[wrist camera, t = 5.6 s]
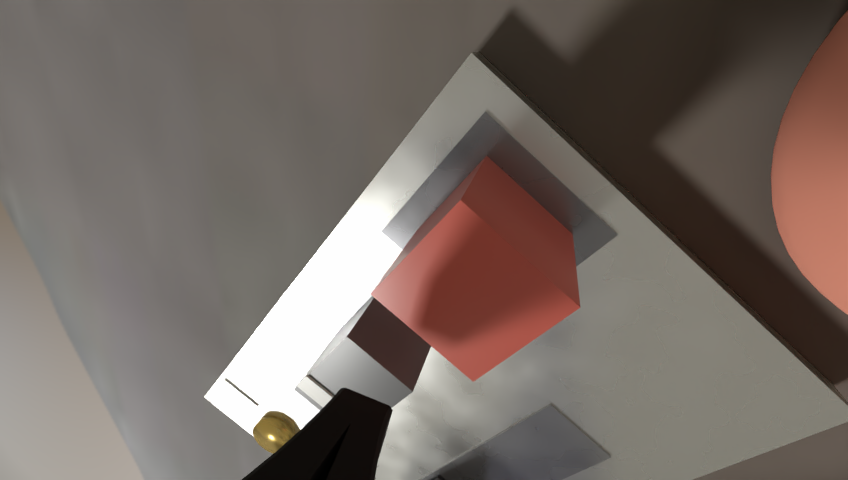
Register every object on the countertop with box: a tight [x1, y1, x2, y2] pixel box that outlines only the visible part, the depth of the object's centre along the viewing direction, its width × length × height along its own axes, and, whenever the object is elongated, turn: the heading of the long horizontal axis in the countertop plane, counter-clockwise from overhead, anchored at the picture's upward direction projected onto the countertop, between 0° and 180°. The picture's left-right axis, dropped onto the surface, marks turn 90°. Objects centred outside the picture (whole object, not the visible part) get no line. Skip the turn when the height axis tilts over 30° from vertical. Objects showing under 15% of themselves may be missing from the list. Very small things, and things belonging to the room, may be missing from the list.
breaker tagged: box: [294, 296, 431, 410], centre depth 17 cm, size 3×4×4 cm
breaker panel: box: [204, 52, 848, 480], centre depth 20 cm, size 18×24×2 cm
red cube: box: [371, 156, 580, 382], centre depth 13 cm, size 4×4×4 cm
